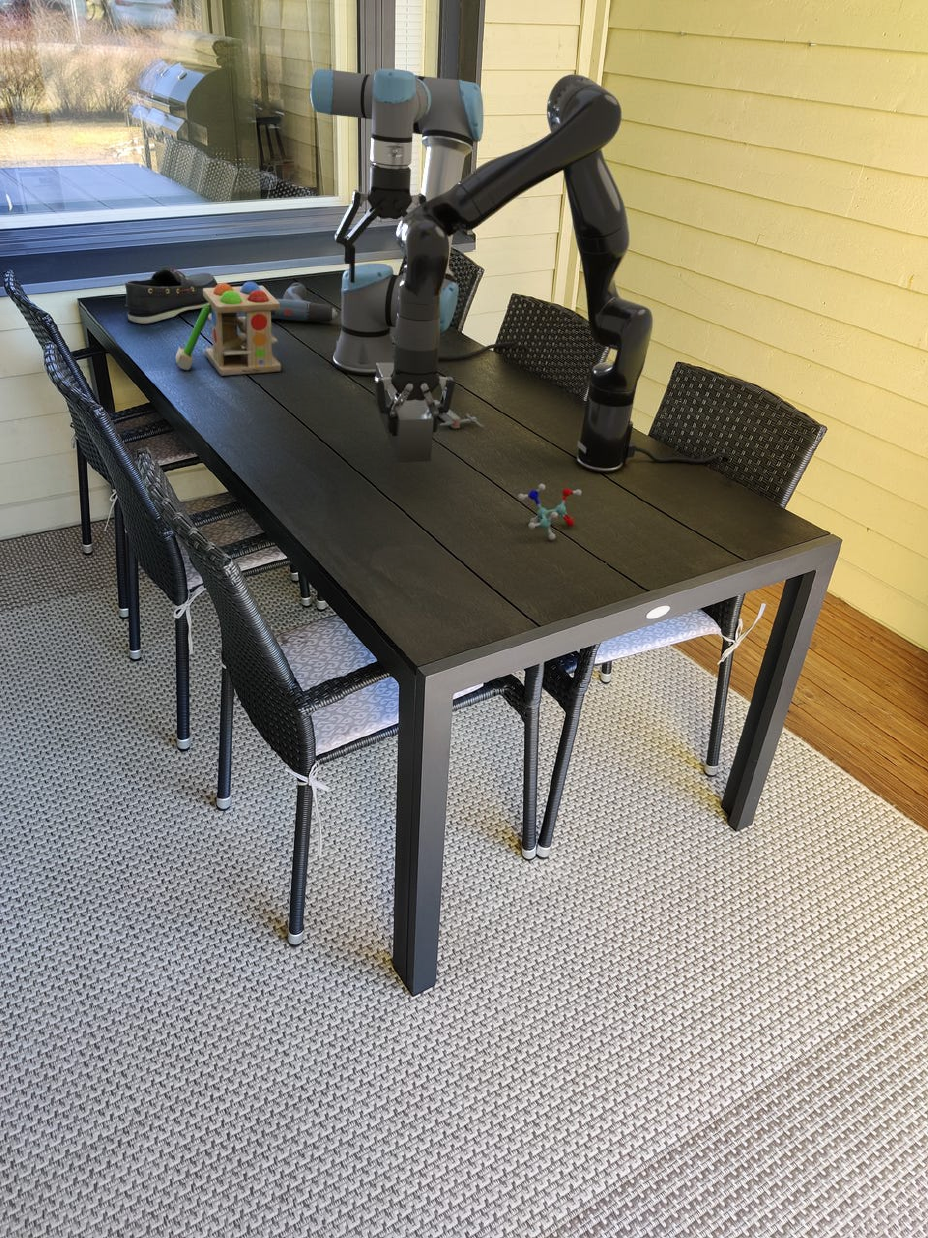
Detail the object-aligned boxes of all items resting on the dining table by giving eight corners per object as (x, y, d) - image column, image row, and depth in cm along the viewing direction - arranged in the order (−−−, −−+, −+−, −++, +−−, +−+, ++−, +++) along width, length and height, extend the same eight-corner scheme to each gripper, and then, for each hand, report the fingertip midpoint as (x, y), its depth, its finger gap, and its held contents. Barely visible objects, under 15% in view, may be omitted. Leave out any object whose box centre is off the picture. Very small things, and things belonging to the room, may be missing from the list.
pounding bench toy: (183, 379, 220) (176, 299, 210) (169, 357, 231) (162, 280, 221) (282, 371, 230) (280, 294, 220) (264, 350, 240) (262, 276, 230)
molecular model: (578, 533, 169) (560, 478, 167) (528, 548, 172) (510, 494, 171) (592, 523, 179) (575, 471, 178) (544, 538, 183) (527, 486, 182)
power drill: (344, 304, 276) (335, 327, 259) (277, 298, 275) (264, 321, 258) (344, 285, 273) (335, 306, 256) (277, 279, 272) (264, 300, 255)
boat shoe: (237, 302, 271) (234, 263, 265) (145, 325, 247) (140, 283, 242) (203, 293, 276) (200, 255, 271) (110, 316, 253) (104, 274, 247)
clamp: (412, 401, 215) (452, 396, 220) (411, 411, 216) (451, 405, 221) (445, 428, 205) (486, 422, 209) (444, 438, 206) (485, 432, 210)
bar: (374, 402, 194) (376, 362, 190) (404, 401, 196) (406, 362, 191) (397, 462, 173) (399, 419, 168) (430, 461, 174) (433, 418, 169)
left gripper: (325, 164, 176) (324, 285, 187) (460, 172, 181) (451, 288, 193) (321, 157, 182) (320, 274, 193) (452, 164, 187) (444, 278, 199)
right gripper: (377, 348, 160) (374, 443, 169) (463, 349, 163) (455, 442, 173) (371, 333, 166) (368, 426, 175) (454, 334, 169) (447, 425, 179)
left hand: (386, 281), depth 193 cm, fingers open, 13 cm apart
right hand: (412, 433), depth 174 cm, fingers closed on bar, 6 cm apart
